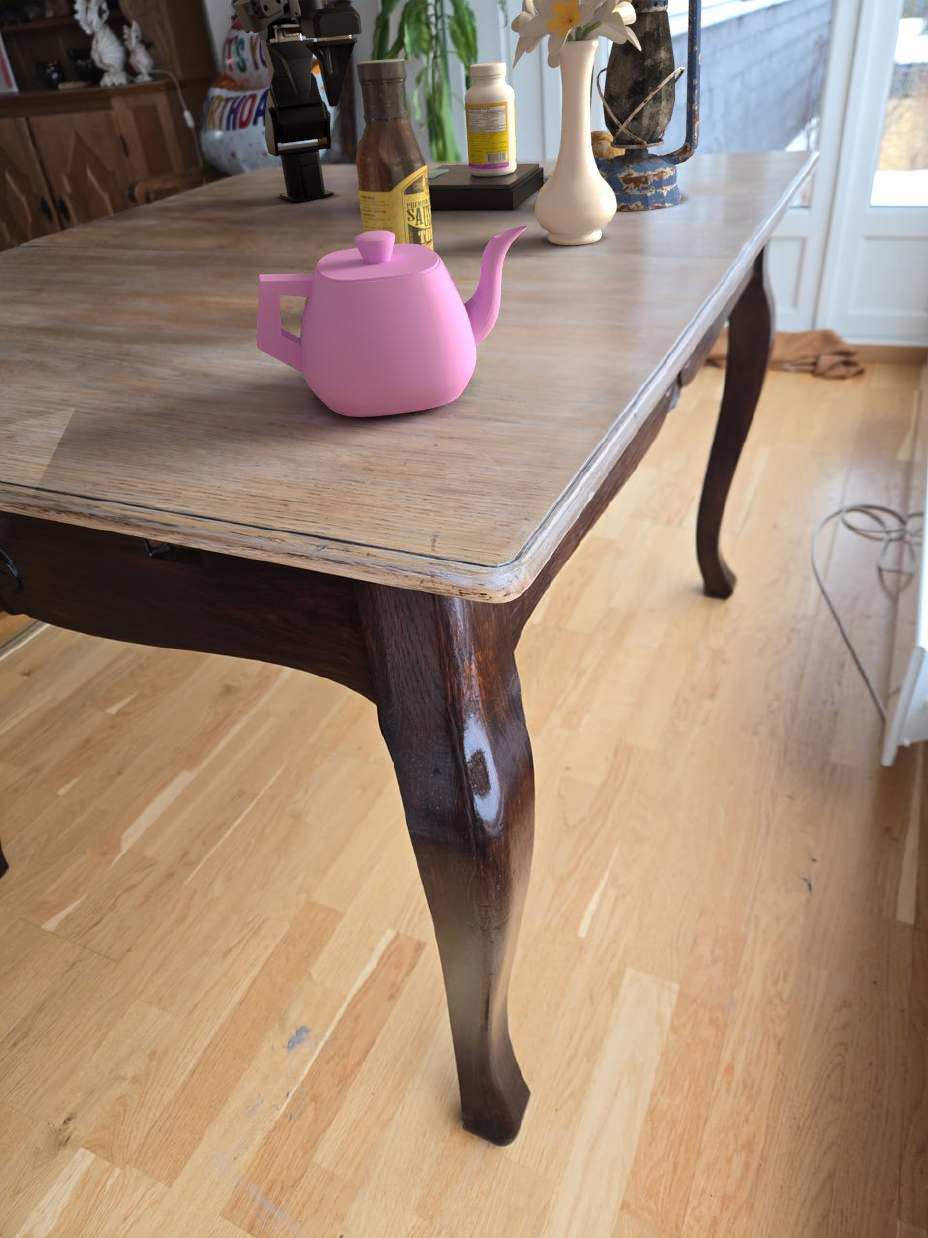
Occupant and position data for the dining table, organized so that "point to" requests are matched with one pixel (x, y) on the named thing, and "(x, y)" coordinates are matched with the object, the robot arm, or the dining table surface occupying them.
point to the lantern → (648, 108)
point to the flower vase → (574, 110)
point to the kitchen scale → (482, 188)
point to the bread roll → (604, 145)
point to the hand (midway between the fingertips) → (318, 104)
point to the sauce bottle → (391, 158)
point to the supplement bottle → (490, 121)
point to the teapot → (383, 324)
